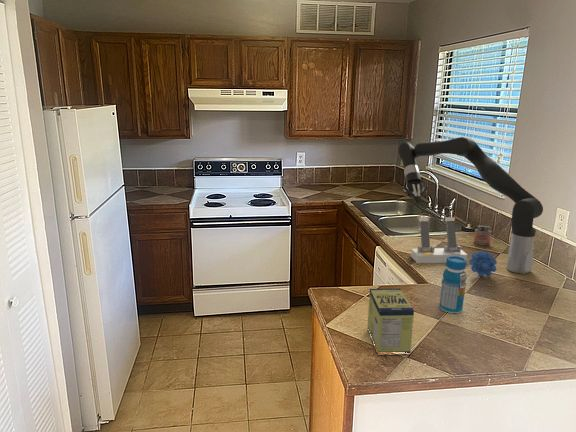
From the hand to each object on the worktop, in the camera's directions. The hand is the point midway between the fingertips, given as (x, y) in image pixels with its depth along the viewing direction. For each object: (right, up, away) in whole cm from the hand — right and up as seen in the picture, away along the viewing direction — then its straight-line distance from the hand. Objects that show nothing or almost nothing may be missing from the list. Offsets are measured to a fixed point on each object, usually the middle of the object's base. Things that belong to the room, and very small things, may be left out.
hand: (418, 203), depth 216 cm
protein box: (-33, -47, -77) cm, 96 cm away
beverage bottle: (-5, -41, -56) cm, 69 cm away
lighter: (+38, -21, +13) cm, 45 cm away
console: (+7, -27, -8) cm, 29 cm away
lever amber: (+1, -22, -10) cm, 24 cm away
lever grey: (+14, -22, -9) cm, 28 cm away
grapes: (+19, -33, -28) cm, 47 cm away
